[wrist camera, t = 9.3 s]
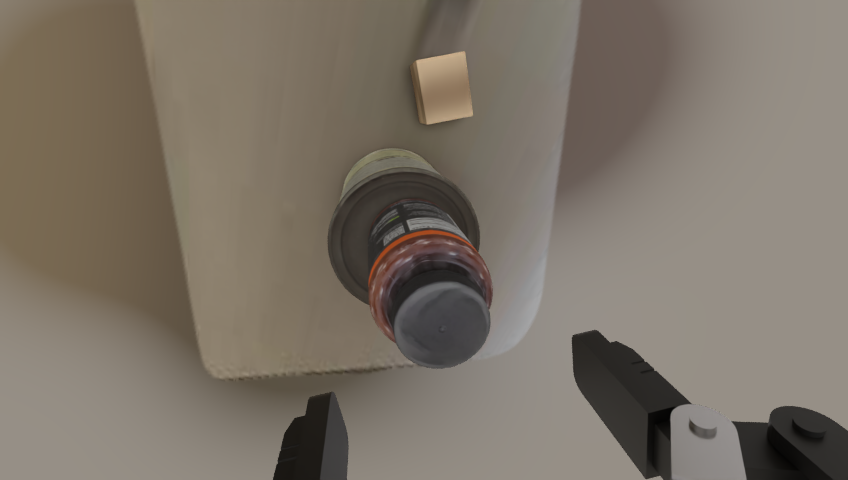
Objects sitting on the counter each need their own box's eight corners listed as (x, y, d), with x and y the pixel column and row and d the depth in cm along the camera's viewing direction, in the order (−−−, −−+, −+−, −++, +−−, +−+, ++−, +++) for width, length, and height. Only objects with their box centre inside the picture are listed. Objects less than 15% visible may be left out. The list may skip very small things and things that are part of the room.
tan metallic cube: (409, 66, 36) (416, 60, 31) (452, 58, 36) (464, 51, 31) (419, 122, 37) (426, 124, 33) (460, 114, 38) (473, 115, 33)
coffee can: (463, 198, 40) (509, 243, 27) (392, 265, 42) (403, 338, 28) (394, 123, 37) (408, 133, 24) (319, 198, 38) (293, 246, 25)
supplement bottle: (431, 291, 28) (470, 408, 17) (352, 260, 26) (341, 367, 15) (471, 217, 26) (541, 294, 16) (390, 180, 25) (407, 236, 14)
